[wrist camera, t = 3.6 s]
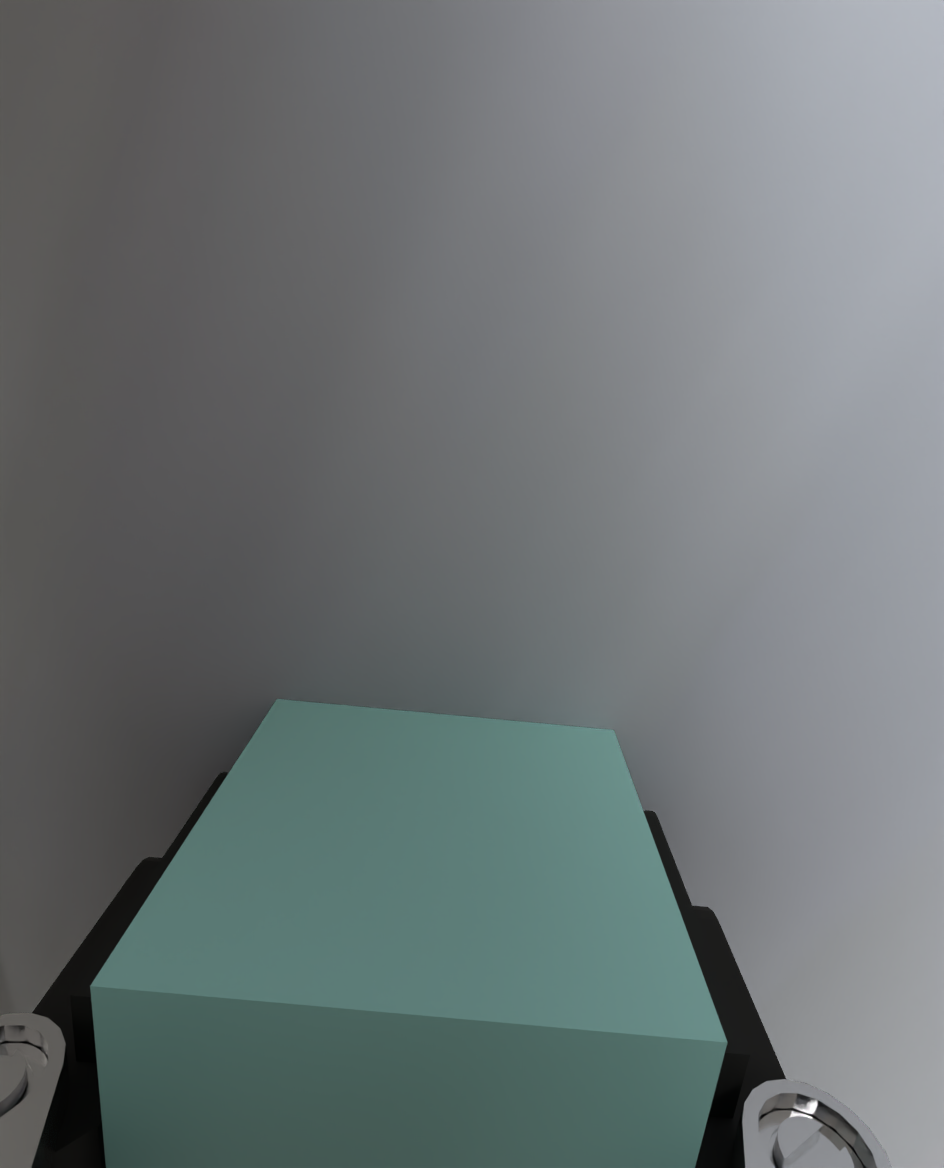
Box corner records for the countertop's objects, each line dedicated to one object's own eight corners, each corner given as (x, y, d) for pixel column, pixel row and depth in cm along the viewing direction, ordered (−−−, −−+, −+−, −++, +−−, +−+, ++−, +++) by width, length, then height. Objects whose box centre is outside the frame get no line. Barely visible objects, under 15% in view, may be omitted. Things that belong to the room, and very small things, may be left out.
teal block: (276, 698, 10) (90, 986, 5) (613, 729, 10) (727, 1043, 5) (273, 967, 12) (124, 1383, 7) (569, 993, 12) (627, 1425, 7)
